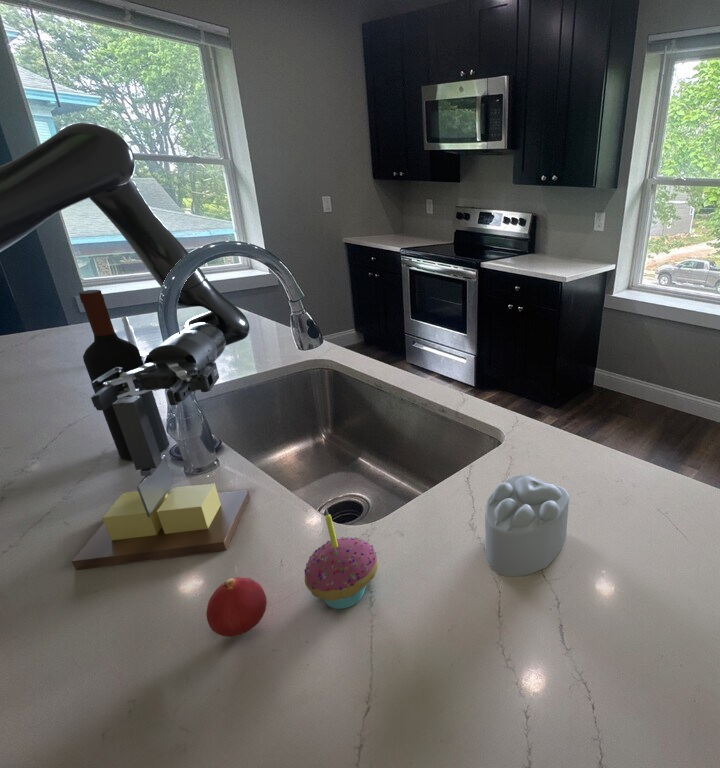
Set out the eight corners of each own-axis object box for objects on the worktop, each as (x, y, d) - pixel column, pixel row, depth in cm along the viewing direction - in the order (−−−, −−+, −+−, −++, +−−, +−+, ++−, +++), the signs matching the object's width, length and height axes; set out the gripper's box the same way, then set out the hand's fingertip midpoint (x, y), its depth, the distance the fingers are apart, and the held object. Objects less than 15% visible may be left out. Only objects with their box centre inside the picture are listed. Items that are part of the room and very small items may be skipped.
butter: (111, 540, 64) (101, 517, 63) (131, 514, 69) (123, 492, 67) (208, 528, 67) (201, 506, 65) (221, 504, 72) (214, 483, 70)
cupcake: (298, 592, 59) (281, 516, 54) (360, 557, 64) (350, 486, 60) (329, 636, 53) (313, 556, 48) (394, 594, 59) (385, 519, 54)
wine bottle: (120, 465, 83) (57, 299, 71) (118, 447, 88) (59, 290, 76) (171, 451, 87) (120, 293, 75) (166, 435, 93) (118, 284, 80)
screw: (129, 367, 124) (127, 362, 127) (151, 363, 127) (148, 358, 130) (113, 319, 118) (111, 315, 121) (136, 316, 121) (134, 312, 124)
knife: (138, 518, 63) (98, 414, 56) (163, 484, 69) (130, 388, 63) (158, 515, 63) (121, 412, 57) (181, 482, 70) (151, 387, 63)
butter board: (75, 570, 61) (71, 561, 61) (123, 511, 72) (119, 503, 71) (226, 550, 65) (223, 542, 64) (250, 497, 76) (248, 489, 75)
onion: (220, 616, 55) (203, 565, 52) (273, 602, 57) (261, 553, 54) (210, 660, 50) (191, 607, 47) (269, 643, 52) (255, 591, 49)
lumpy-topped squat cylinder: (574, 531, 70) (578, 483, 67) (532, 590, 60) (535, 538, 56) (515, 506, 75) (516, 461, 72) (467, 557, 65) (465, 507, 61)
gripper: (126, 338, 73) (61, 379, 59) (227, 334, 76) (188, 372, 62) (141, 382, 76) (82, 431, 62) (237, 376, 79) (202, 421, 65)
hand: (135, 401), depth 62 cm, fingers open, 8 cm apart
